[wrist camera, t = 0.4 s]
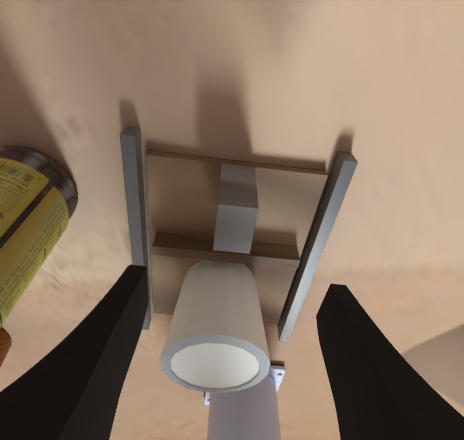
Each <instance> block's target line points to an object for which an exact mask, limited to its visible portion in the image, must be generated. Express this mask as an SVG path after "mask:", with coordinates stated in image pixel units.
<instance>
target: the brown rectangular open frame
mask: <svg viewBox="0 0 464 440" xmlns="http://www.w3.org/2000/svg"><path fill="white" fill-rule="evenodd" d="M146 168H147V188H148V208H149V228H150V249H151V269H152V289H153V309H154V313H159V314H171V315H173V314H174V311H175V307H176V304H177V301H178V298H179V295H180V291H181V288H182V285H183V282H184V278H185V276H186V274H187V272H188V270H189V269H190V267H192V266H193V265H195V264H196V263H198V262H199V261H201V260H210V261H221V262H231V263H242V264H244V265H245V266H246V267H247V268H249V269H250V270H251V271H252V274H253V276H254V278H255V281H256V286H257V292H258V297H259V303H260V308H261V314H262V319H263V322H264V323H276V324H278V322H279V319H280V316H281V313H282V310H283V307H284V304H285V301H286V298H287V295H288V292H289V289H290V286H291V283H292V280H293V277H294V274H295V271H296V269H298V266H299V263H300V257H301V254H302V251H303V248H304V245H305V242H306V239H307V236H308V233H309V230H310V227H311V224H312V221H313V218H314V215H315V212H316V209H317V206H318V203H319V200H320V197H321V195H322V192H323V189H324V186H325V183H326V180H327V177H328V175H327V173H326V171H321V170H313V169H304V168H295V167H287V166H278V165H269V164H260V163H252V162H243V161H234V160H226V159H217V158H208V157H200V156H191V155H182V154H173V153H165V152H156V151H148V152H147V154H146Z"/></svg>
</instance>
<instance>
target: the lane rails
mask: <svg viewBox="0 0 464 440" xmlns="http://www.w3.org/2000/svg"><path fill="white" fill-rule="evenodd" d="M120 139H121V150H122V160H123V170H124V180H125V190H126V200H127V211H128V221H129V231H130V241H131V251H132V261H133V265H140V266H147V281H148V298H149V302H148V306H147V311H146V316H145V320H144V324H143V328H142V329H144V330H148V329H149V325H150V321H151V305H150V288H149V270H148V253H147V236H146V219H145V201H144V184H143V167H142V149H141V132H140V128H134V127H126V128H125V129H124V130H123V131H122V133H121V134H120ZM357 163H358V162H357V160H356V159H355V157H354V156H353V155H352V153H344V152H339V153H338V156H337V158H336V161H335V164H334V167H333V170H332V173H331V176H330V179H329V182H328V185H327V188H326V190H325V193H324V196H323V199H322V202H321V205H320V208H319V211H318V214H317V217H316V220H315V222H314V225H313V228H312V231H311V234H310V237H309V240H308V243H307V246H306V249H305V252H304V254H303V257H302V260H301V263H300V266H299V269H298V272H297V275H296V278H295V281H294V284H293V286H292V289H291V292H290V295H289V298H288V301H287V304H286V307H285V310H284V313H283V316H282V318H281V321H280V324H279V327H278V335H279V341H288V340H289V337H290V335H291V332H292V329H293V327H294V324H295V322H296V319H297V317H298V314H299V312H300V309H301V306H302V304H303V301H304V299H305V296H306V294H307V291H308V288H309V286H310V283H311V281H312V278H313V276H314V273H315V271H316V268H317V265H318V263H319V260H320V258H321V255H322V253H323V250H324V248H325V245H326V242H327V240H328V237H329V235H330V232H331V230H332V227H333V224H334V222H335V219H336V217H337V214H338V212H339V209H340V207H341V204H342V201H343V199H344V196H345V194H346V191H347V189H348V186H349V184H350V181H351V178H352V176H353V173H354V171H355V168H356V166H357Z"/></svg>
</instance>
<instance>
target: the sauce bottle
mask: <svg viewBox="0 0 464 440" xmlns="http://www.w3.org/2000/svg"><path fill="white" fill-rule="evenodd" d="M77 202H78V195H77V191H76V188H75V186H74V184H73V181H72V180H71V178H70V177H69V176H68V174H67V173H66V171H65V170H64V168H62V167H61V166H60V165H59V164H58V163H57V162H56V161H54V160H52V159H50V158H48V157H47V156H45V155H43V154H41V153H38V152H36V151H33V150H31V149H28V148H24V147H18V146H8V147H3V148H0V328H1V326H2V325H3V323H4V322H5V320H6V318H7V317H8V315H9V314H10V312H11V311H12V309H13V308H14V306H15V305H16V303H17V302H18V300H19V299H20V297H21V296H22V294H23V293H24V291H25V290H26V288H27V287H28V285H29V284H30V282H31V281H32V279H33V278H34V276H35V274H36V273H37V271H38V270H39V268H40V267H41V265H42V264H43V262H44V261H45V259H46V258H47V256H48V255H49V253H50V252H51V250H52V249H53V247H54V246H55V244H56V243H57V241H58V240H59V238H60V237H61V235H62V234H63V232H64V231H65V229H66V227H67V225H68V220H69V219H70V218H71V216H72V215H73V213H74V211H75V208H76V205H77Z"/></svg>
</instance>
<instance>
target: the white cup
mask: <svg viewBox="0 0 464 440" xmlns="http://www.w3.org/2000/svg"><path fill="white" fill-rule="evenodd" d="M160 364H161V370H162V371H163V372H164V373H165V374H166V376H167V377H168V378H169V379H170V380H171V381H173V382H175V383H177V384H179V385H181V386H183V387H185V388H189V389H193V390H197V391H202V392H212V393H227V392H233V391H240V390H244V389H246V388H249V387H251V386H254V385H256V384H258V383H259V382H260V381H261V380H262V379H263V378H265V377H266V376H267V375H268V372H269V367H270V358H269V353H268V347H267V342H266V336H265V330H264V325H263V319H262V314H261V308H260V303H259V297H258V292H257V286H256V281H255V278H254V276H253V274H252V271H251V270H250V269H249V268H247V267H246V266H245V265H244V264H242V263H231V262H221V261H210V260H201V261H199V262H198V263H196V264H195V265H193V266H192V267H190V269H189V270H188V272H187V274H186V276H185V278H184V282H183V285H182V288H181V291H180V295H179V298H178V301H177V304H176V307H175V311H174V314H173V317H172V320H171V324H170V327H169V330H168V333H167V336H166V340H165V343H164V346H163V349H162V353H161V356H160Z"/></svg>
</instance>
